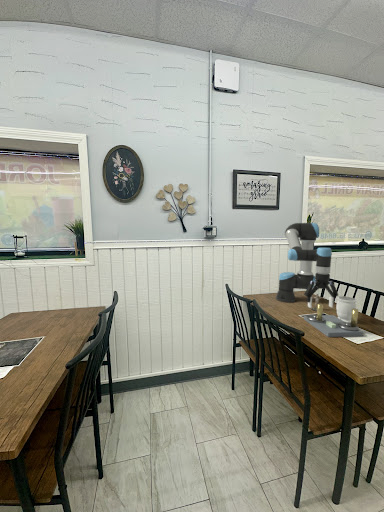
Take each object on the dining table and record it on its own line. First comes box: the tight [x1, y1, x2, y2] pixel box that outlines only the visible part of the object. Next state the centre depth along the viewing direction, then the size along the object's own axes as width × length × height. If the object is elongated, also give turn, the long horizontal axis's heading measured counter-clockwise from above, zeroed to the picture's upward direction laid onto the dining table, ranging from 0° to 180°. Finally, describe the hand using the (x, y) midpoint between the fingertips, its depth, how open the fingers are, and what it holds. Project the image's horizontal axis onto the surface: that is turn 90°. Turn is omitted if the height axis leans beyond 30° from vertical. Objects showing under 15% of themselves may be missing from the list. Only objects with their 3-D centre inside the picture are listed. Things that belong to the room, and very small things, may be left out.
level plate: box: [303, 314, 363, 338], centre depth 133 cm, size 24×20×5 cm
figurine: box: [311, 293, 324, 312], centre depth 161 cm, size 11×7×12 cm, turn 79°
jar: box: [335, 295, 357, 323], centre depth 142 cm, size 11×10×15 cm
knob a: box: [306, 303, 325, 322], centre depth 138 cm, size 10×10×11 cm
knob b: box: [338, 308, 360, 331], centre depth 127 cm, size 10×10×11 cm
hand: (320, 307), depth 134 cm, fingers open, 13 cm apart
